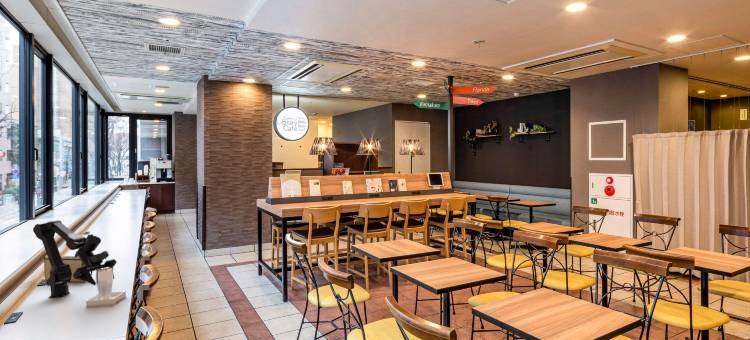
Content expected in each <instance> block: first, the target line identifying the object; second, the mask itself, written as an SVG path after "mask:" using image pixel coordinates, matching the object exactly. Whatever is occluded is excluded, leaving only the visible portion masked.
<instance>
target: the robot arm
mask: <svg viewBox="0 0 750 340" xmlns="http://www.w3.org/2000/svg"><path fill="white" fill-rule="evenodd" d="M32 232H33V233H34V235H35V237H36V238H37V239H38V240H40V241H41V242H42V244H43V247H44V251H45V252H46V256H48V259H49V261H50V264H51V270H50V277H49V278H48V280H47V281H46V280H45V281H46V282H45V283H46V286H48V287H50V295H49V296H48V299H50V298H63V297H64V296H67V295H69V294H70V293H71V291H69V290H70V289H69V288H70V287H69V285H68V283H70V282H71V277H72V272H71V271H72V270H71V269H70V265H69V264H64V263H63V261H62V258H61V256H62V255H61V253H60V250H59V248H58V245H57V242H56V239H55V235H58V236H59V237H61V238H62V239H63V240H64V242H65V246H66V247H67V248H68V249H69V250H70V251H75V250H77V251H75V254H74V256H75V257H79V258H80V259H81V261H82V262H83V263H82V266H83V265H85V266H83V267H79V268H77V269H76V271H75V272H74V273H73V277H74V279H78V280H83V281H86V282H85V283H88V284H91V285H92V286H97V284H96V280H95V278H93V276H91V275H90V274H91V271H92V272H94V271H95V272H96V270H98V269H102V268H112V271H113V272H114V267H115V266H116V264H117V263H118V262H117V260H116V259H114V258H111V259H107V258H108V257H109V256H110V254H109V252H108V251H107V250H104V251H102V252H100V253H97V254H95V253H94V252H95V251H96V250H97V248H98V246H99V245H100V244H101V243H102V239H101V237H99V236H98V235H97V236H96V235H94V234H92V233H91V234H88V235H87V236H86V237H85V235H84V236H83V234H78V233H75V232H74V231H72V230H71V229H70V228H69V227H67V226H66V225H65V224H64V223H62V221H61V220H60V219H59V220H58V219H57V220H50V221H47V222H42V223H37V224H36V223H35V225H34V226H33V228H32ZM106 259H107V260H106ZM104 260H105V262H104ZM103 262H104V263H103ZM114 279H115V275H114V273H113V280H114Z"/></svg>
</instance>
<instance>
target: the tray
mask: <svg viewBox="0 0 750 340" xmlns="http://www.w3.org/2000/svg"><path fill="white" fill-rule="evenodd" d="M98 297H99V293H96V294H95V295H93V296H92V297H90V298H88V299H86V300H85V307H86V308H94V307H109V306H111V307H112V306H115V305H116V304H118V303H119V302H121V301H122V300H123V299H125V298H126V297H127V292H126V291H125V290H123V291H120V290H119V291H112V297H113V299H103V300H98Z"/></svg>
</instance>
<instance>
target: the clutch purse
mask: <svg viewBox="0 0 750 340" xmlns="http://www.w3.org/2000/svg"><path fill="white" fill-rule="evenodd" d="M61 258H62V261H63V263H64V264H69V265H70V269H71V270H72V271H71V272H72V277H71V281H70V282H75V283H77V282H78V283H79V282H80V283H81V282H82V283H87V282H86V281H83V280H78V279H74V277H73V273H74V272H75V271H76V269H77V268H79V267H83V266H85V265H83V266H82V263H83V262H82V261H81V259H80V258H79V257H75V255H61ZM43 260H44V261H43V264H44V265H43V266H44V280H45V281H47V280H48V278H49V277H50V270H51V264H50V261H49V259H48V256H47V255H44V256H43ZM90 275H91V276H92V275H93V271H91V272H90ZM92 277H93V276H92Z"/></svg>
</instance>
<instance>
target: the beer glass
mask: <svg viewBox="0 0 750 340" xmlns="http://www.w3.org/2000/svg"><path fill="white" fill-rule="evenodd" d="M113 274H114V270H113V271H112V268H102V269H98V270H95V283H96V288H97V292H98V293H99V297H98V300H103V299H113V297H112V292H113V283H114V279H113ZM98 293H97V294H98Z"/></svg>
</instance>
